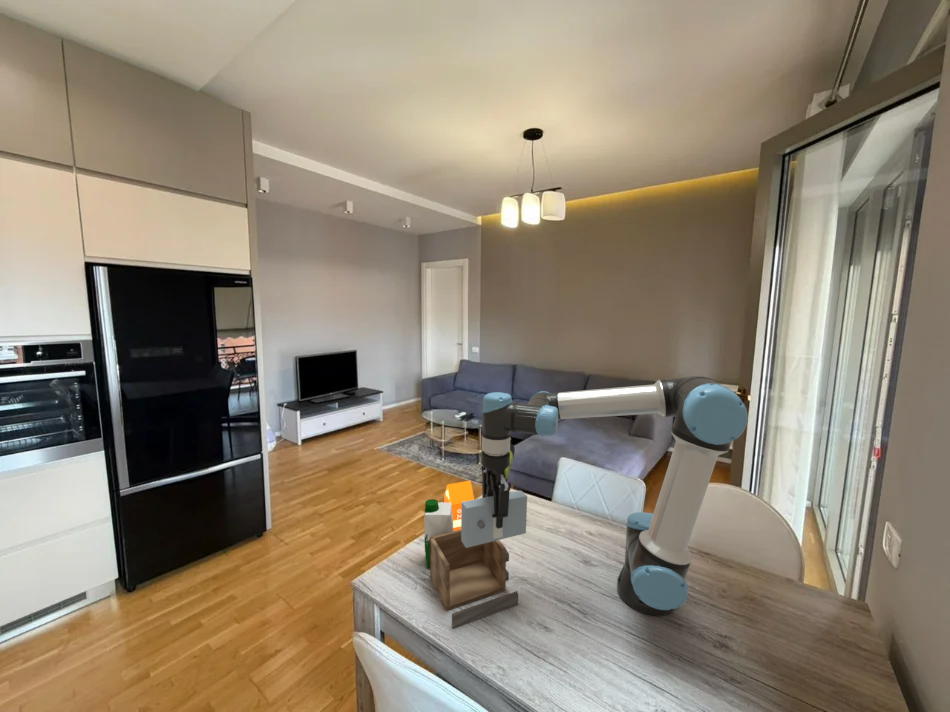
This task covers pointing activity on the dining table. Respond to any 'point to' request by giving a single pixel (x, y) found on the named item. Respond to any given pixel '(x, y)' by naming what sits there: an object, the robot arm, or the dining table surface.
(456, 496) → the orange juice
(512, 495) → the door
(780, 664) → the dining table surface
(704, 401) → the robot arm
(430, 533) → the milk carton
